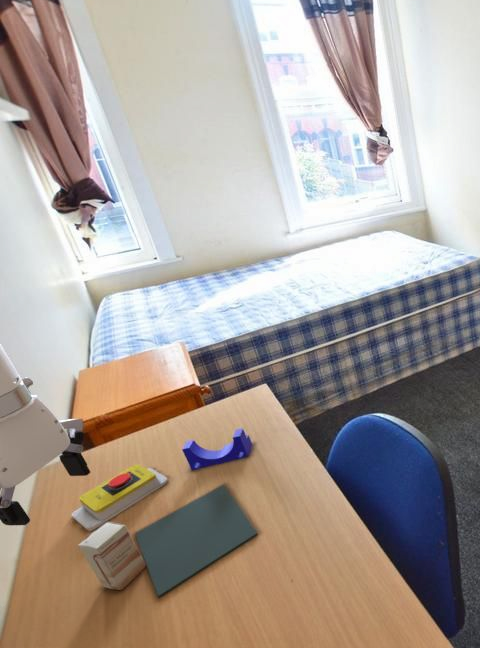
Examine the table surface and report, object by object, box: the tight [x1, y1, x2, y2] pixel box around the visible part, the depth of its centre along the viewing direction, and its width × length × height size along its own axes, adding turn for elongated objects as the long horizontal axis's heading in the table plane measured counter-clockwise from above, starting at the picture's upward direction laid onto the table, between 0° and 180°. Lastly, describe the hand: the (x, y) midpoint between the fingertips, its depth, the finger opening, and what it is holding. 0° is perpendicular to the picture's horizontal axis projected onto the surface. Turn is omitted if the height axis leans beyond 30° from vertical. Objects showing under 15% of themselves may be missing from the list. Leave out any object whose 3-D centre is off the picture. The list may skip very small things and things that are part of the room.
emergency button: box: [71, 463, 169, 532], centre depth 100 cm, size 9×4×15 cm
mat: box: [134, 484, 258, 598], centre depth 89 cm, size 16×20×1 cm
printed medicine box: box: [77, 521, 147, 591], centre depth 80 cm, size 5×4×10 cm
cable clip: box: [181, 428, 253, 471], centre depth 109 cm, size 12×4×6 cm, turn 105°
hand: (51, 497), depth 72 cm, fingers open, 9 cm apart
